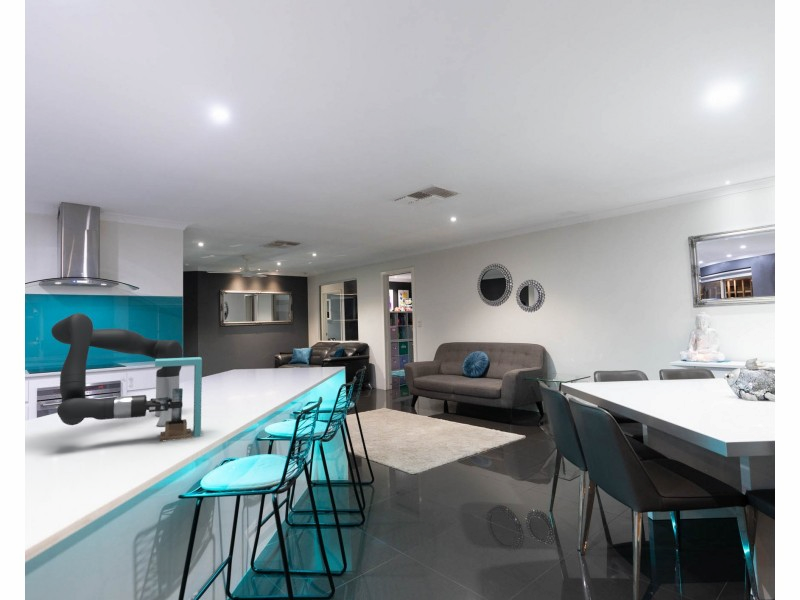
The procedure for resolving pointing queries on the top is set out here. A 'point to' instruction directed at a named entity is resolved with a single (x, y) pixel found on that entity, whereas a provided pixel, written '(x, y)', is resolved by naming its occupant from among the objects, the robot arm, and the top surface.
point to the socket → (175, 431)
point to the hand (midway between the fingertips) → (182, 402)
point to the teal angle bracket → (197, 384)
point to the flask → (164, 417)
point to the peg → (176, 412)
